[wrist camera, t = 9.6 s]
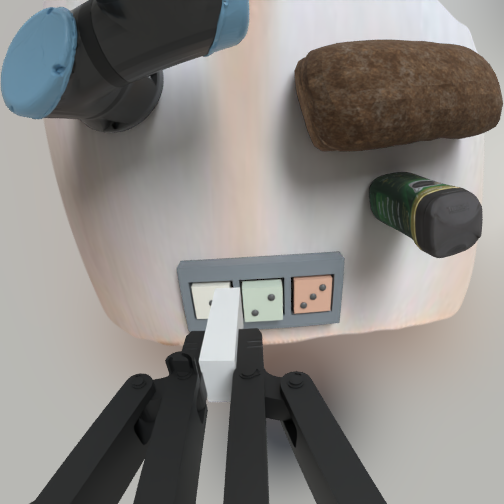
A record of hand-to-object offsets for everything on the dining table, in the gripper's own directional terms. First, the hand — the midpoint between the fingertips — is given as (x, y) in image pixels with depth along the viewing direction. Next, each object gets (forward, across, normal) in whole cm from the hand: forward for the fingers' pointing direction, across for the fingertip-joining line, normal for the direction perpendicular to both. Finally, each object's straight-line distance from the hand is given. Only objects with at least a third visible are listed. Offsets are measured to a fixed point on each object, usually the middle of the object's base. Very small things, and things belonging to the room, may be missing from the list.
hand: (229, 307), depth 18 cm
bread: (+29, +24, +18) cm, 42 cm away
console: (+28, +2, -14) cm, 32 cm away
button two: (+26, +2, -14) cm, 30 cm away
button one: (+27, -6, -14) cm, 31 cm away
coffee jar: (+29, +25, +1) cm, 38 cm away
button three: (+27, +10, -14) cm, 32 cm away
